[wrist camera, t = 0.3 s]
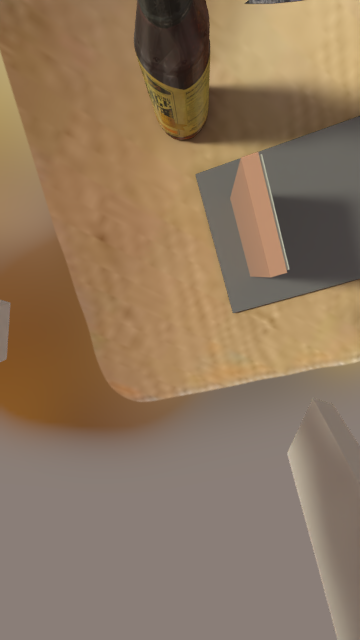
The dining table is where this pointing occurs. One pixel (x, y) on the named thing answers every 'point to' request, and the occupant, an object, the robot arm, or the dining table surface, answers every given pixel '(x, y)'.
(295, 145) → the rubber mat
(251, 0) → the throwing knife
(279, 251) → the terracotta tile
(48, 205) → the dining table surface
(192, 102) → the sauce bottle
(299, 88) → the dining table surface
